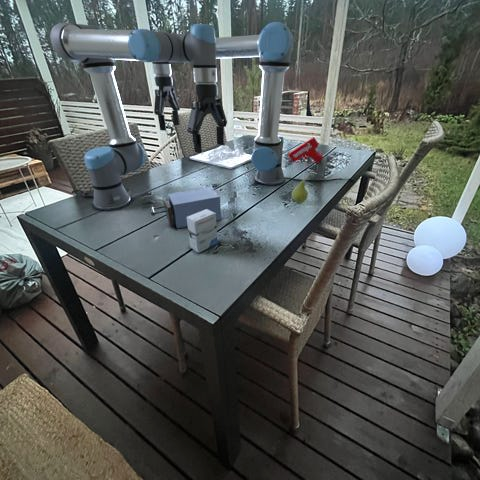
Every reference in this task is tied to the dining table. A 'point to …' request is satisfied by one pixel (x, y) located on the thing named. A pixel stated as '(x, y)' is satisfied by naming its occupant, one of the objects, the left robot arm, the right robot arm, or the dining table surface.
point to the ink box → (202, 230)
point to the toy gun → (306, 151)
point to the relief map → (223, 157)
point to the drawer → (167, 210)
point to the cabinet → (194, 204)
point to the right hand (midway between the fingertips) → (170, 127)
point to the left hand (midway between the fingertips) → (209, 148)
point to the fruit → (300, 192)
